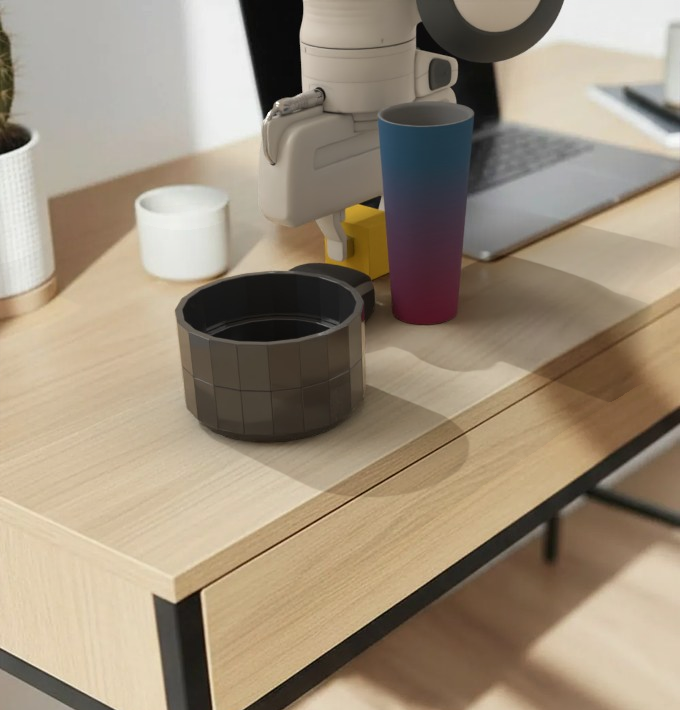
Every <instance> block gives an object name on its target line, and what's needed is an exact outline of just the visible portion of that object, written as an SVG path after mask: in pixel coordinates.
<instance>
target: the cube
mask: <svg viewBox="0 0 680 710" xmlns="http://www.w3.org/2000/svg"><path fill="white" fill-rule="evenodd" d="M378 209H379V208H375V207H370V206H367V205H363V204H360V203H359V204H357V205H354V206H351V207H349V208H346V209H345V218H346V219H345V221H343V222H340V223H341V225H342V227H343V230H344V232H345V234H346V235H347V236H351V237H354V256H353V257H351V258H349V259H346V260H344V261H342V262H338V261H335V260H332V259H330V258H329V257H328V254H327V238H326V237H325V236H324V255H325V256H324V257H325V263H327V264H335V265H340V266H345V267H348V268H352V269H355V270H358V271H360V272H363V273H365V274H367V275H368V276H370V278H371V281H373V280H376V279H378V278H380V277H382V276H384V275H386V274H389V261H388V248H387V234H386V221H385V211H382V210H378Z"/></svg>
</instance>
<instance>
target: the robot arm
mask: <svg viewBox="0 0 680 710" xmlns="http://www.w3.org/2000/svg"><path fill="white" fill-rule="evenodd" d="M302 3H303V4H302V5H303V14H302V21H301V25H300V29H299V45H300V46H299V47H300V48H299V49H300V62H301V63H300V64H301V66H300V67H301V87H302V88H301V89H302V93H301V92H300V93H299V94H297V95H295V96H292V97H284V98H283V97H282V98H281V99H278V100H276V101H275V102H274V103H273V106H272V109H270V110H269V112H268V113H267V115H266V116H265V118H264V119H263V120H262V122H261V130H260V133H261V140H260V145H259V152H258V153H259V154H258V169H257V202H258V203H257V204H258V209H259V212H260V213H261V214H262V215H263V217H264V218H265V219H266V220H267V221H268V222H270V223H274V224H276V225H279V226H284V227H287V228H291V229H294V228H299V227H302V226H304V225H307V224H310V223H312V222H314V221H315V223H316V225H317V226H318V228H319V230H320V231H321V233H322V234H323V236H324V238H325V237H326V238H327V254H328V257H329V258H330V259H332V260H335V261H338V262H342V261H344V260H346V259H349V258H351V257H353V256H354V237H351V236H347V235H346V234H345V232H344V230H343V227H342V225H341V223H340V222H343V221H345V219H346V218H345V209H346V208H349V207H351V206H354V205H357V204H359V205H360V204H362V203H364V202H367V201H370V200H373V199H375V198H377V197H381V198H380V200H379V201H380V202H379V206H378V208H377V209H378V210H382V211H385V208H384V195H383V181H382V168H381V155H380V142H379V128H378V113H379V112H380V111H381V110H382V109H384V108H386V107H389V106H393V105H397V104H402V103H409V102H421V101H437V102H449V103H456V104H457V98H456V94H455V92H454V90H453V89H452V88H451V87H453V86H454V85H455V84H456V83H457V80H458V76H459V75H458V74H459V64H458V61H457V58H459V59H461V60H465V61H468V62H473V63H481V64H490V63H491V64H493V63H498V62H503V61H504V62H505V61H507V60H511V59H513V58H516V57H518V56H520V55H522V54H523V53H526V52H527V51H529V50H531V48H533V47H534V46H535V45H536V44H538V43H539V42H540V41H541V40H542V39H543V38H544V37H545V36H546V34H547V33H549V31H550V29H552V27H553V25H554V24H555V22H556V21H557V19H558V16H559V15H560V13H561V11H562V8H563V5H564V3H565V0H302ZM420 23H422V24H423V26H424V28H425V30H426V31H427V34H428V35H430V37H431V38H432V39H433V41H434V42H435V43H436V44H437V45H439V46H440V48H442V49H443V50H445V51H446V52H447V53H449V54H451V55H452V56H455V57H456V58H455V57H452V56H448V55H443V54H440V53H435V52H432V51H431V52H430V51H426V50H421V48H420V47H417V26H418V24H420Z"/></svg>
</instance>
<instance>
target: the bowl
mask: <svg viewBox="0 0 680 710" xmlns="http://www.w3.org/2000/svg"><path fill="white" fill-rule="evenodd" d="M174 317H175V326H176V334H177V343H178V352H179V360H180V361H179V362H180V368H181V369H180V370H181V376H182V377H181V378H182V386H183V394H184V400H185V401H184V402H185V406H186V409H187V410H188V411H189V413H190V414H192V415H193V417H194V418H195V419H197V421H199V422H200V423H201V424H202V425H203V426H204V427H205V428H207V429H208V430H210V431H212V432H214V433H216V434H218V435H221V436H223V437H227V438H230V439H234V440H239V441H247V442H255V443H277V442H289V441H296V440H297V441H298V440H301V439H306V438H310V437H314V436H316V435H321V434H323V433H325V432H328V431H330V430H332V429H334V428H336V427H338V426H339V425H341V424H343V423H344V422H345V421H346V420H347V419H349V418H350V417H351V415H352V414H353V413H354V412H355V410H356V409H357V408H358V406H359V405H360V404H361V403H362V402H363V401H364V400H365V394H366V390H367V366H366V365H367V363H366V361H367V360H366V325H365V322H366V321H365V319H364V301H363V299H362V297H361V295H360V293H359V291H358V290H357V289H355V288H353V287H352V286H350V285H349V284H347V283H346V282H344V281H341V280H338V279H335V278H332V277H329V276H326V275H321V274H314V273H307V272H300V271H288V270H266V271H254V272H245V273H240V274H235V275H231V276H227V277H222V278H218V279H215V280H212V281H209V282H208V283H205V284H203V285H200V286H198V287H195V288H194V289H193V290H191V291H190V292H189V293H187V294H186V295H184V296H183V297H182V298H181V299H180V300H179V302H178V304H177V305H176V307H175V308H174Z"/></svg>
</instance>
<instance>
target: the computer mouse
mask: <svg viewBox="0 0 680 710" xmlns="http://www.w3.org/2000/svg"><path fill="white" fill-rule="evenodd" d="M287 271H300V272H307V273H314V274H321V275H326V276H329V277H332V278H335V279H338V280H341V281H344V282H346V283H347V284H349V285H350V286H352V287H353V288H355V289H357V290H358V291H359V293H360V295H361V297H362V299H363V301H364V319H365V322H366V321H368V319H369V318H370V317H371V315H372V314H373V311H374V309H375V305H376V292H375V287H374V284H373V280H371V278H370V276H368V275H367V274H365V273H363V272H360V271H358V270H355V269H352V268H348V267H345V266H340V265H335V264H327V263H326V262H308V263H302V264H298V265H296V266H293V267H292V268H290V269H289V270H287Z"/></svg>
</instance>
